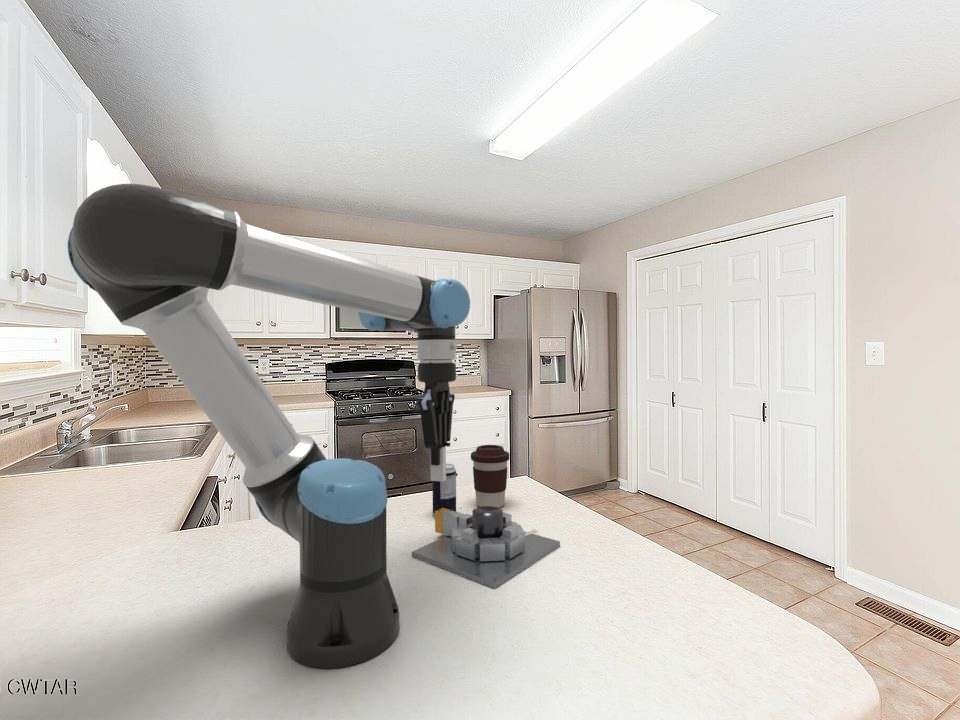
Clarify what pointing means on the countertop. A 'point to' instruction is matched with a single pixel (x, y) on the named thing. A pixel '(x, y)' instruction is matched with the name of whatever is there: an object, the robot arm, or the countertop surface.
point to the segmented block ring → (474, 547)
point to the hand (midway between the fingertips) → (438, 480)
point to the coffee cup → (490, 475)
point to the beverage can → (445, 491)
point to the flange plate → (486, 571)
